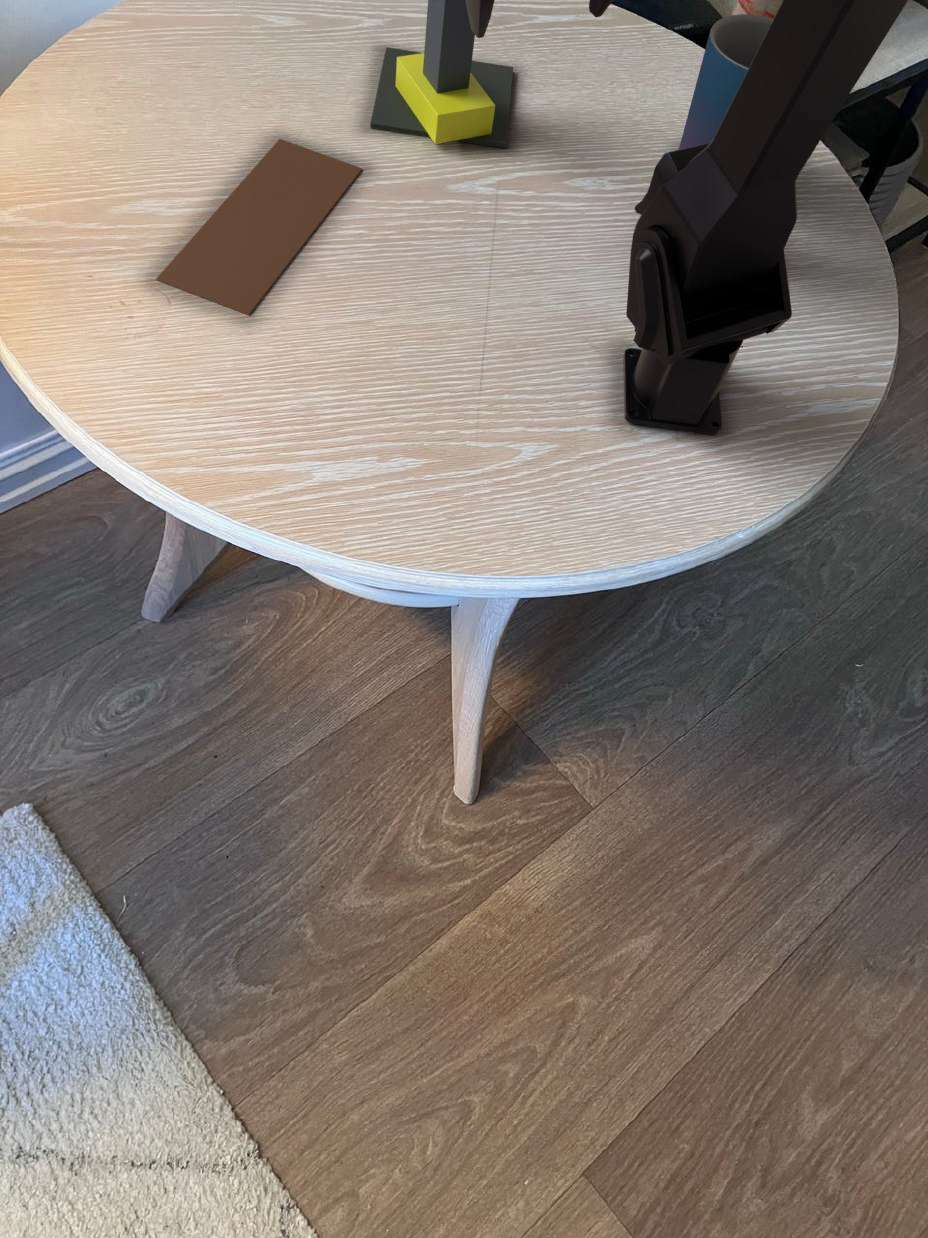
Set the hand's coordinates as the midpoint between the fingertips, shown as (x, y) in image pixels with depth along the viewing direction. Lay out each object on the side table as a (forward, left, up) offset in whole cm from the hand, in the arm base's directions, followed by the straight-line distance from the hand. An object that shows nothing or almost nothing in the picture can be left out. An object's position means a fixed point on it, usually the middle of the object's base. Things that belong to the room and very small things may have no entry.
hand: (537, 23), depth 63 cm
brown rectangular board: (-9, +17, -12) cm, 23 cm away
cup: (-4, -14, -12) cm, 19 cm away
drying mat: (+10, +6, -12) cm, 17 cm away
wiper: (+8, +6, -12) cm, 15 cm away
